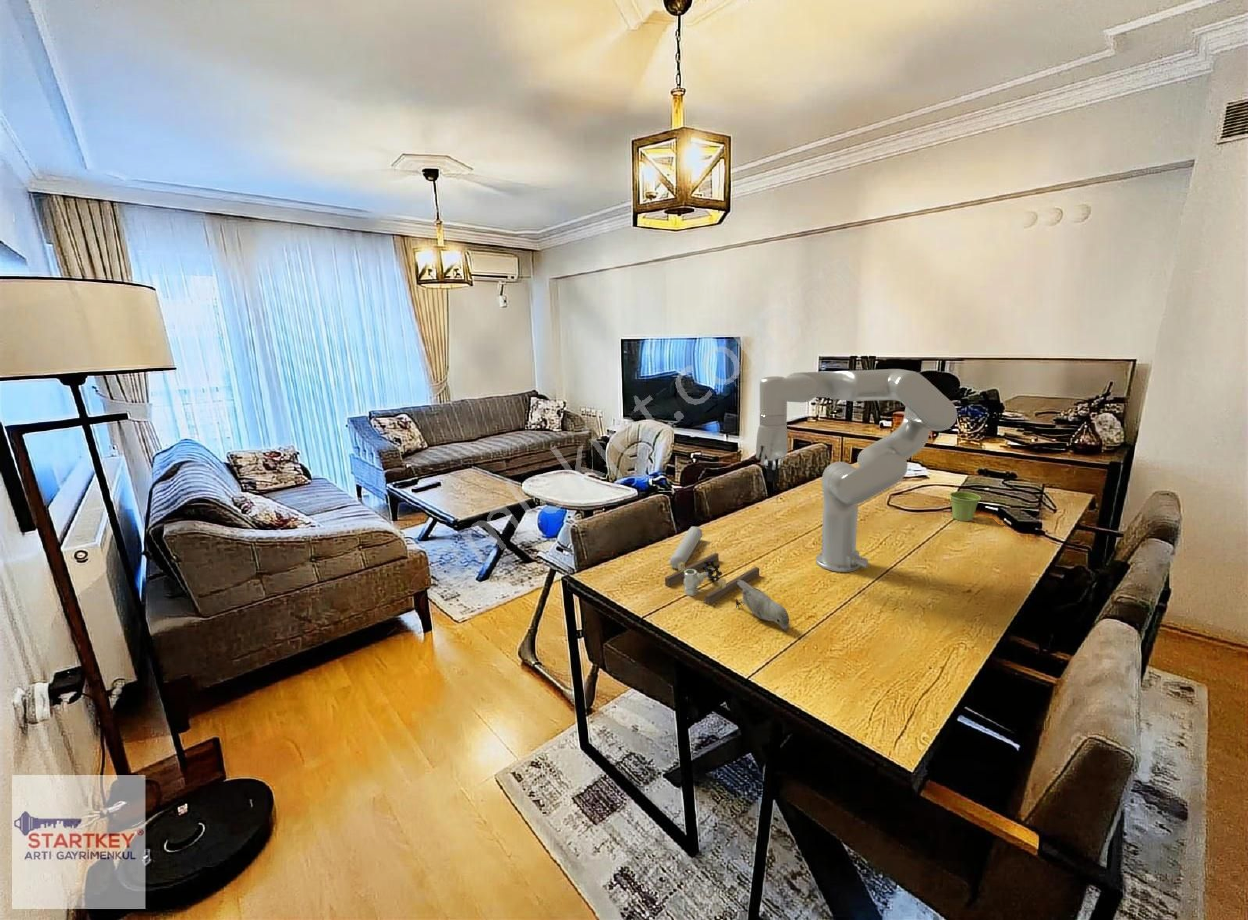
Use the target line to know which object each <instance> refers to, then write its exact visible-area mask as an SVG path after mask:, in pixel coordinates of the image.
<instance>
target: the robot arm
mask: <svg viewBox="0 0 1248 920" xmlns="http://www.w3.org/2000/svg"><path fill="white" fill-rule="evenodd" d="M815 398H829V399H836V400H840V401H844V402H845V401H847V402H848V401H849V402H864V401H865V402H866V401H867V402H868V401H897V402H900V403H902V404H903V406H904V408H905V409H904V413H903V414H904V415H903V419H902V422H901V423H900V425H899V426H898V428H896V429H895V430H894V431H892V432H890V433H889V434H887V435H885V436H884V437H883V438H880V439H879V440H877V441H875V442H874V443H872V444H869V445H868V446H865V448H863V449H862V450H861V451H860V452H859V453H858V456H857V464H858V467H857V468H856V467H855V466H853V465H852V464H850V463H847V462H845V461H835V462H832V463H830V464H829V465H827V467H825V469H824V471H823V473H822V477H821V487H822V497H823V498H822V505H823V506H822V527H821V528H822V534H821V552H820V553H818V554H817V555H816V556H815V563H816V564H817V565H818V566H820V567H821V568H823V569H825V570H829V571H832V572H838V573H849V572H854V571H857V570H859V569H860V568H865V569H867V568H868V567H869V561H868V560H869V559H868V558H867V557H862V556H861V555H860V550H857V549H856V548H857V532H858V515H859V514H858V513H859V505H860V504H862V503H864V502H867V501H869V500H870V499H872V498H874V497H875V496H876V497H877V496H878V495H880V494H881V493H883V492H885V491H887V490H888V489H890V488H892V487H894V486H895V485H897V484H899V483H900V482H901V481H902V480H903V478H904V477H905V475H906V473H907V472H908V462H907V460H908V459H910V458H911V457H912V456H914V455H915V454H917V453H919V452H920V451H921V450H922V449H923V448H924V446H925V445H926V444H927V442H928V440H929V437H930V434H931V431H934V432H943V431H945V430H948V429H950V428H951V427H952V426H953V425H954V424H955V423H956V421H957V418H958V411H957V408H956V406H955V404H954V403H953V402H952V401H951V400H950V399H949V398H948V397H947V396H946V395H944V394H943V393H942V391H940V390H939V389H938V388H937V387H936V386H935V385H933V384H932V383H931V381H929V380H928V379H927V377H924V376H923V375H922V374H921V373H918V371H913V370H907V369H901V368H888V369H887V368H886V369H867V370H866V369H864V370H863V369H862V370H858V369H857V370H838V371H809V372H808V371H807V372H806V371H805V372H803V371H802V372H801V371H800V372H793V373H791V374H789V375H787V376H786V377H784V376H778V375H777V376H774V375H773V376H766V377H762V378H761V379H760V380H759V426H758V428H757V434H756V441H755V442H756V444H755V458H756V460H760V465H761V466H765V467H764V468H765V469H766V481H767V482H770V483H777V482H779V481H780V468H781V464H782V463H781V462H782V461H784V459H785V457H786V455H788V450H789V437H788V436H789V435H788V428H787V427H788V423H787V421H788V402H789V403H800V404H803V403H809V402H811V401H812V400H814V399H815Z"/></svg>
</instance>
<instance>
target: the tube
mask: <svg viewBox="0 0 1248 920" xmlns="http://www.w3.org/2000/svg"><path fill="white" fill-rule="evenodd" d="M702 537H703V530H702V529H701V528H699V526H691V527H690V528H689V529H688V530H687V532H686V534H685V536H684V537H683V538H682V540H681V542H680V543H679V544H678V546H677V548H676V549H675V551H674V552H673V554H671V557H670V558H669V564H670V566H671V567H672V568H673V569H674V570H677V569H678V563H680V562H683V563H685V564H686V563H687V562H688V560H689V558H690V556H691V555H692V553H693V551H694V550H695V548H696V547H697V544H698V543H699V542H700V540H701V539H702Z"/></svg>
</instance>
